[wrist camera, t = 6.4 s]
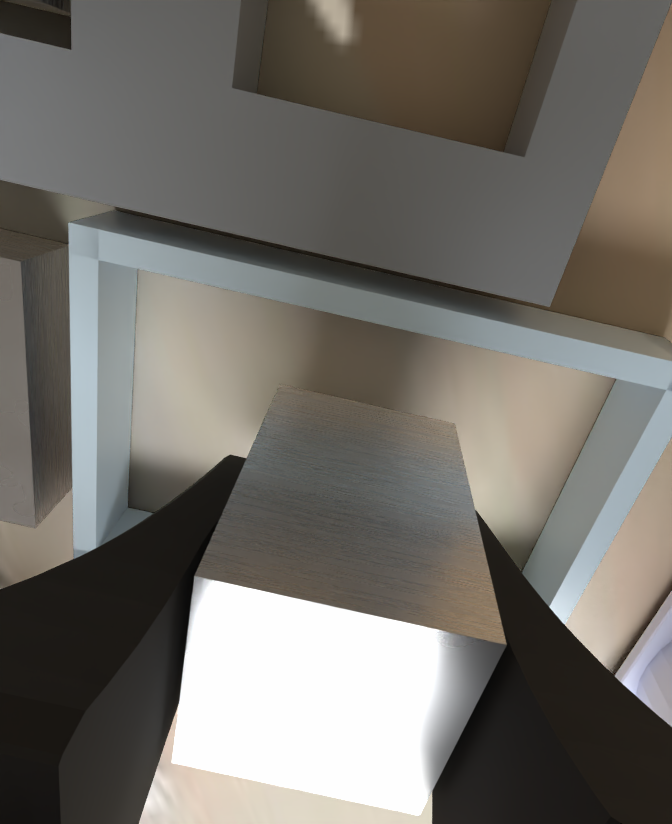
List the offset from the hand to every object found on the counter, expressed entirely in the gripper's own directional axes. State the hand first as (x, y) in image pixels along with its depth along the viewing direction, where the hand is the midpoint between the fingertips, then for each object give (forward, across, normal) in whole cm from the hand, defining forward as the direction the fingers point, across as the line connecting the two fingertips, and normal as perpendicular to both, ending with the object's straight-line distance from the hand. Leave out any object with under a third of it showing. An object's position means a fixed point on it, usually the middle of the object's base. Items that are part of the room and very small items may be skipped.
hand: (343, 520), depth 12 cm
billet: (+2, 0, 0) cm, 2 cm away
